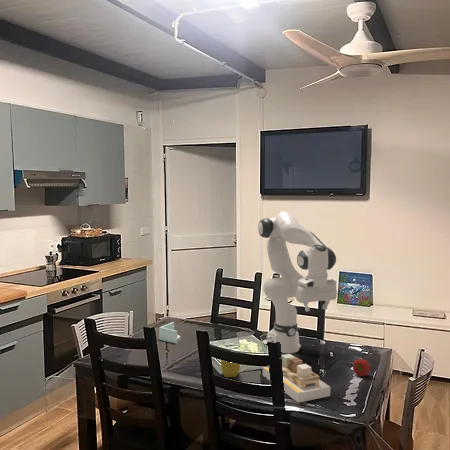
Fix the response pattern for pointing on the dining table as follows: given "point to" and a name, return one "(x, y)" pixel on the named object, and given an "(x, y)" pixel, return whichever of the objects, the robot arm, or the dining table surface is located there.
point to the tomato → (361, 367)
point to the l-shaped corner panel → (168, 333)
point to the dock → (302, 394)
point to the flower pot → (229, 369)
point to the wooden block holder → (292, 376)
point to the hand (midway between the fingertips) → (316, 310)
